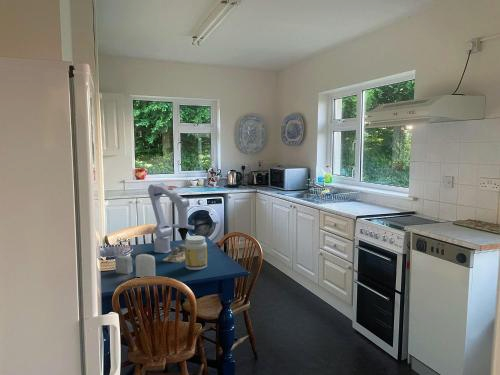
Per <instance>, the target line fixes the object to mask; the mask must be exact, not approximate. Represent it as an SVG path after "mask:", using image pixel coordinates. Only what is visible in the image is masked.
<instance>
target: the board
mask: <svg viewBox="0 0 500 375" xmlns="http://www.w3.org/2000/svg"><path fill="white" fill-rule="evenodd" d="M184 261H185V248H183V252H179V250H178V251H177V255H173V252H171V253H170V254H167V257H165V258H163V259H162V262H171V263H179V264H181V263H182V262H184Z"/></svg>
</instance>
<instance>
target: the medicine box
mask: <svg viewBox="0 0 500 375" xmlns="http://www.w3.org/2000/svg"><path fill="white" fill-rule="evenodd" d="M132 257H133V256H130V255H129V256H128V255H118V256H116V257H114V260H115V261H114V263H115V273H116V274H123V275H129V274H131V273H133V270H134V269H133V258H132Z"/></svg>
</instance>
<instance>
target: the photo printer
mask: <svg viewBox="0 0 500 375" xmlns="http://www.w3.org/2000/svg"><path fill="white" fill-rule="evenodd" d="M144 276H155V277H156V257H155V256H154V255H152V254H147V253H140V254H137V255H135V277H136V278H137V277H144Z"/></svg>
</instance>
